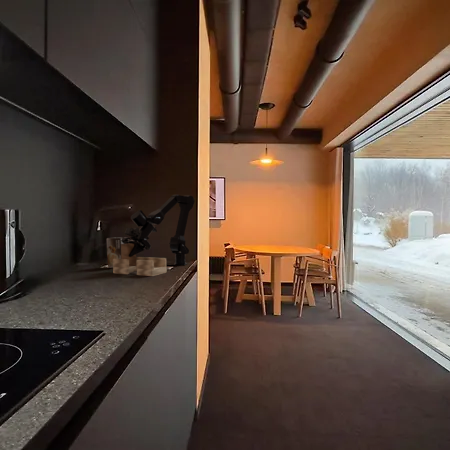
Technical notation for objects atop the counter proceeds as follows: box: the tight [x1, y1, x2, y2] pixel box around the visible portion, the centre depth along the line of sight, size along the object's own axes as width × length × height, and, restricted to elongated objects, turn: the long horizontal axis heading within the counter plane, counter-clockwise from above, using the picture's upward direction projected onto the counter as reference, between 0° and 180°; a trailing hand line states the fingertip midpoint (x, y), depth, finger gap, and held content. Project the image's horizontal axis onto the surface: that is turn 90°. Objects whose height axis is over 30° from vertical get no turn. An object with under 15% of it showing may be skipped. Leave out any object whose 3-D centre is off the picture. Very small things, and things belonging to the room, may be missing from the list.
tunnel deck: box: [112, 256, 168, 277], centre depth 194 cm, size 24×11×7 cm, turn 64°
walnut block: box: [121, 243, 137, 267], centre depth 196 cm, size 5×5×11 cm
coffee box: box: [106, 237, 124, 269], centre depth 215 cm, size 9×6×16 cm
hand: (126, 256), depth 195 cm, fingers closed on walnut block, 5 cm apart
